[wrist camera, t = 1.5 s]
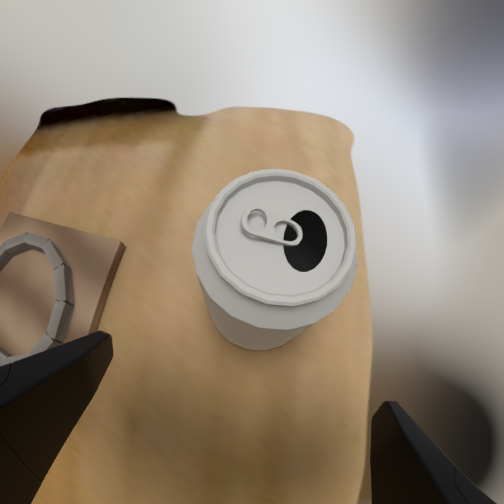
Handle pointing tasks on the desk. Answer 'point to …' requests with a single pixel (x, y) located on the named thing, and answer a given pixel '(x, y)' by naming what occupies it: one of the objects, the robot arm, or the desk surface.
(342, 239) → the can
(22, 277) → the collar board
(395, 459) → the robot arm
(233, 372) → the desk surface
